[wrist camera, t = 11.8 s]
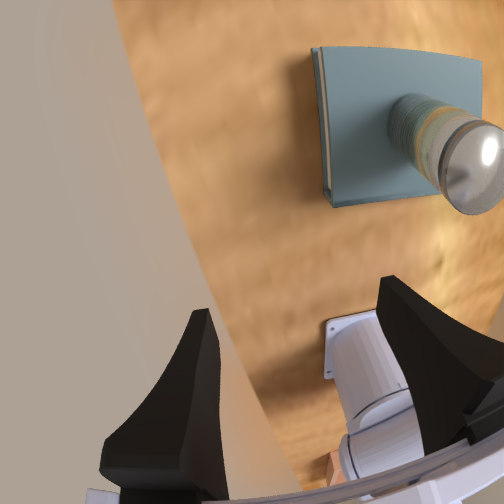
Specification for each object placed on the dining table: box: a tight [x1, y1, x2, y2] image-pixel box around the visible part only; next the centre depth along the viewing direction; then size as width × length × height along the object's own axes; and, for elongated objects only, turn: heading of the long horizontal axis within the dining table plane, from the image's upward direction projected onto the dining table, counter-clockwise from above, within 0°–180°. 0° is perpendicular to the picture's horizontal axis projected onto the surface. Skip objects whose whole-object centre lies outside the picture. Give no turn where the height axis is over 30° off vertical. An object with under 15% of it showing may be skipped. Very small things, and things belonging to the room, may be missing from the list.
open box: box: [325, 451, 347, 486], centre depth 52 cm, size 17×17×4 cm
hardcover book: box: [312, 46, 482, 208], centre depth 18 cm, size 10×12×2 cm
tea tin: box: [387, 93, 504, 215], centre depth 14 cm, size 5×5×7 cm
